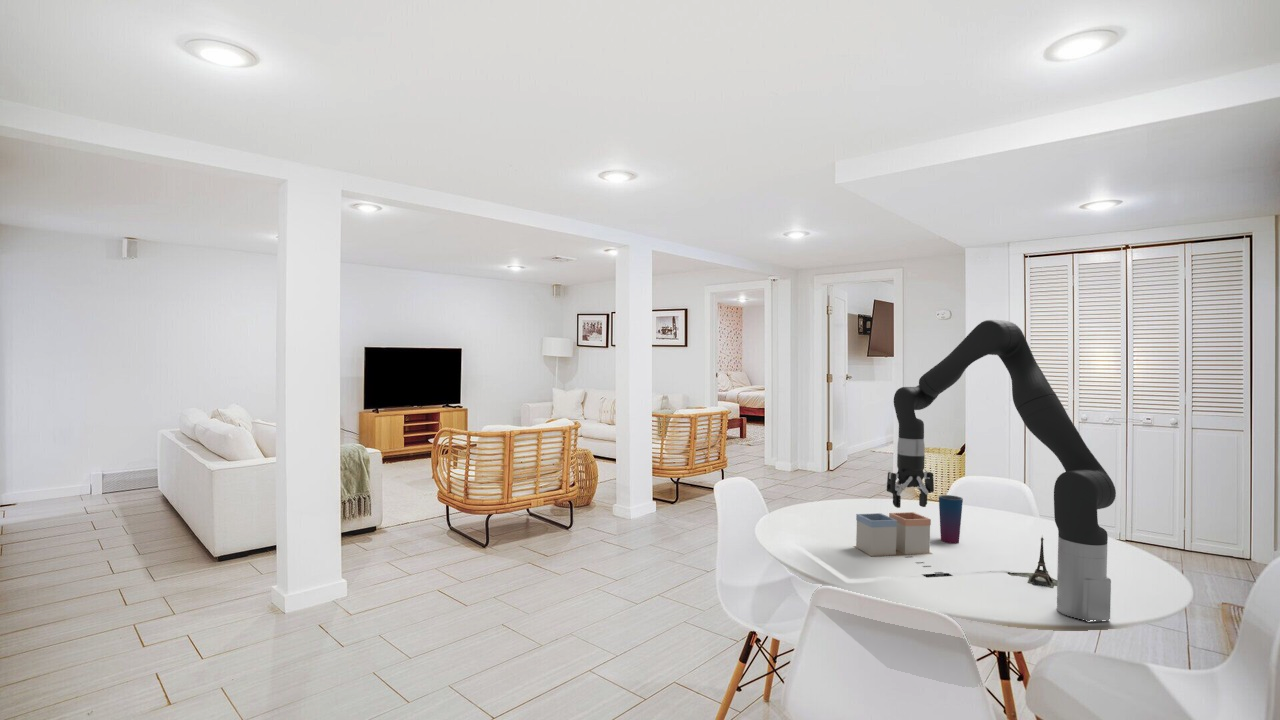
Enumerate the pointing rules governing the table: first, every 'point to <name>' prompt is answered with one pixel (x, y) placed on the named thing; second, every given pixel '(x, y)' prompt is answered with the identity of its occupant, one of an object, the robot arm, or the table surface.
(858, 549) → the tube board
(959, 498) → the cup
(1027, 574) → the eiffel tower figurine
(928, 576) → the mat
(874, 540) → the tube slate
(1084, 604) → the robot arm
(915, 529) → the tube terracotta
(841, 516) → the table surface
